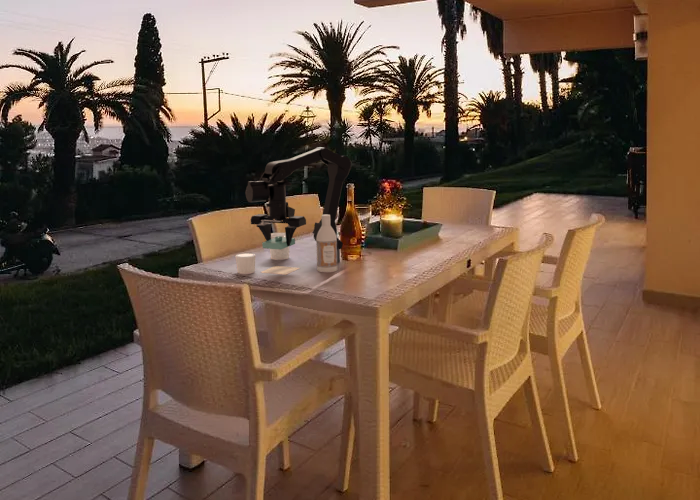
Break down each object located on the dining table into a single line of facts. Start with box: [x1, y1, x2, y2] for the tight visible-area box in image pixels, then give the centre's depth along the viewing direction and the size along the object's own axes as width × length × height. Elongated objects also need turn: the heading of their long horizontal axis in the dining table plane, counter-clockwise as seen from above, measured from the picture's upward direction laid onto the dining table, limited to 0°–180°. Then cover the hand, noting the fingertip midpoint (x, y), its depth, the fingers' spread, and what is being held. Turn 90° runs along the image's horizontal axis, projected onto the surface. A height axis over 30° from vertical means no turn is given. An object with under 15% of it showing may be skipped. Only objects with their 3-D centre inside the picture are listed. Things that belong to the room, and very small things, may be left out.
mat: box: [260, 265, 301, 276], centre depth 207 cm, size 10×10×1 cm
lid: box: [261, 236, 296, 250], centre depth 205 cm, size 7×10×3 cm
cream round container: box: [234, 252, 256, 275], centre depth 205 cm, size 7×7×7 cm
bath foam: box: [315, 214, 338, 273], centre depth 205 cm, size 7×7×20 cm
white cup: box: [269, 232, 290, 261], centre depth 226 cm, size 8×8×10 cm
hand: (279, 245), depth 205 cm, fingers closed on lid, 7 cm apart
